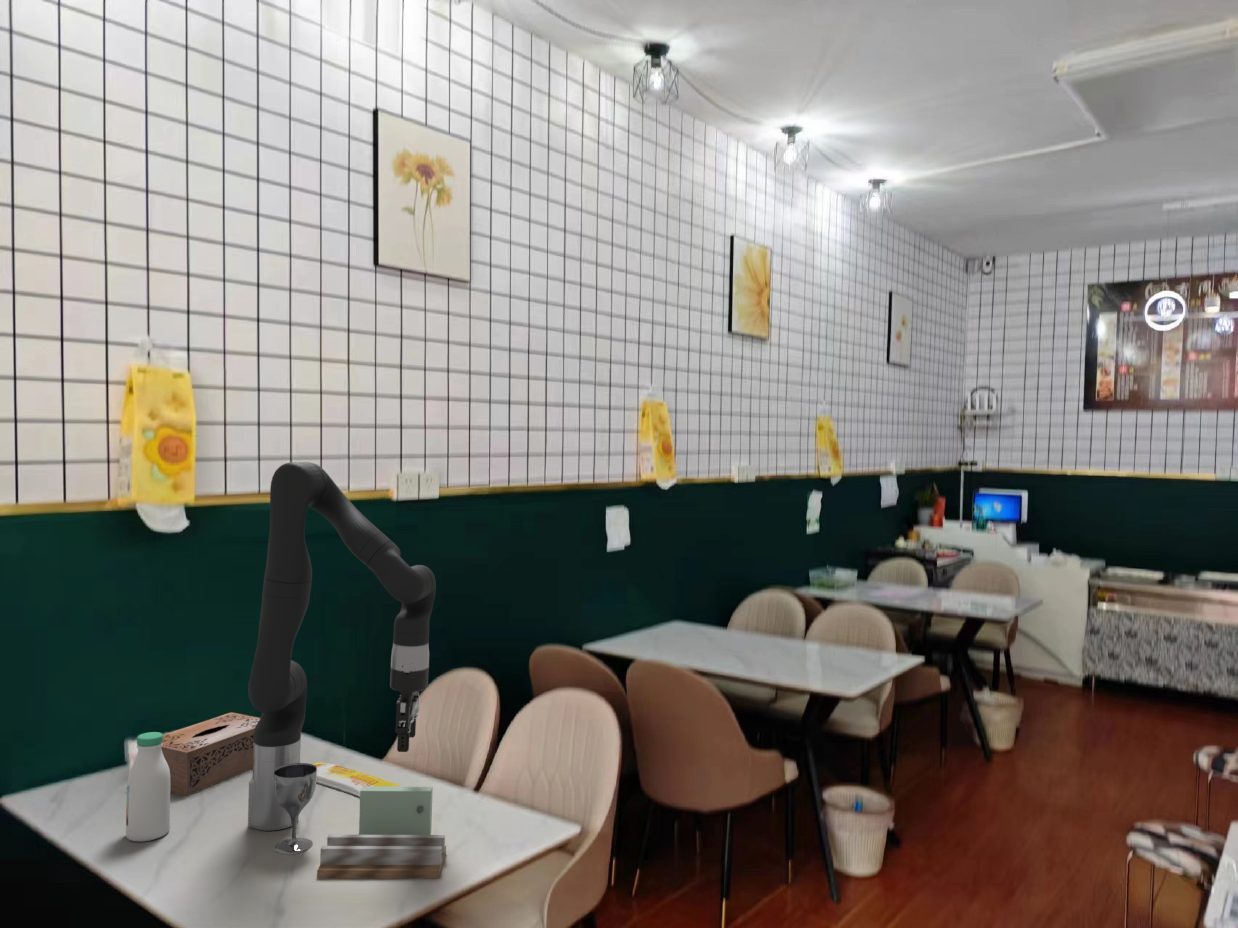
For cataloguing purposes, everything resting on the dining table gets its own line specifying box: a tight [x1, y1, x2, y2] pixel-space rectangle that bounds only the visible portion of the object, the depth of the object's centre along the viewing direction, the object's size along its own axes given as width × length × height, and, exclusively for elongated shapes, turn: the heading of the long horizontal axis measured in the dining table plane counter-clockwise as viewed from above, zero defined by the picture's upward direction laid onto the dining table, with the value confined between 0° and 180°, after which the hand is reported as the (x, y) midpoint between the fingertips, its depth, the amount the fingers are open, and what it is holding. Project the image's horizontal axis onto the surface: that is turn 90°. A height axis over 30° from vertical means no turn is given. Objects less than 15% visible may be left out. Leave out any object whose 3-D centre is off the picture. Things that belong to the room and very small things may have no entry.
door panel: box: [358, 786, 433, 835], centre depth 179 cm, size 14×3×10 cm, turn 94°
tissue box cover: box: [161, 712, 260, 797], centre depth 211 cm, size 26×14×10 cm, turn 157°
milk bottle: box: [125, 731, 171, 842], centre depth 177 cm, size 8×8×20 cm
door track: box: [316, 834, 447, 879], centre depth 167 cm, size 22×10×4 cm, turn 94°
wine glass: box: [273, 762, 317, 855], centre depth 174 cm, size 8×8×15 cm
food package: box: [311, 761, 401, 798], centre depth 207 cm, size 27×2×10 cm
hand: (406, 743), depth 180 cm, fingers open, 8 cm apart
